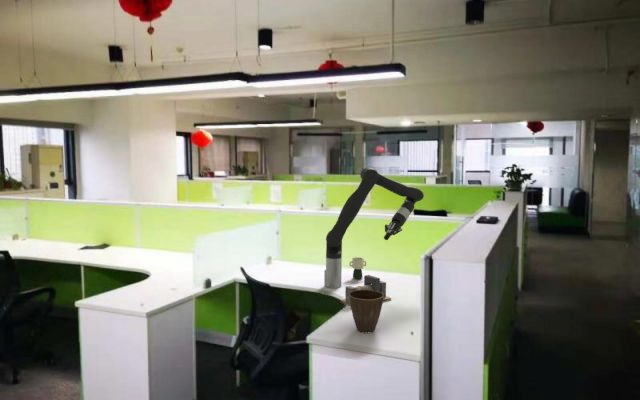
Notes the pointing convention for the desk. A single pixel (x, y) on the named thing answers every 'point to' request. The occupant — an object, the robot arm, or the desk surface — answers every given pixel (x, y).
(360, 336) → the desk surface
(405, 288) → the desk surface
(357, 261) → the trophy cup
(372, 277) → the gray notched block
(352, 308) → the plant pot
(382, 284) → the pipe stand
